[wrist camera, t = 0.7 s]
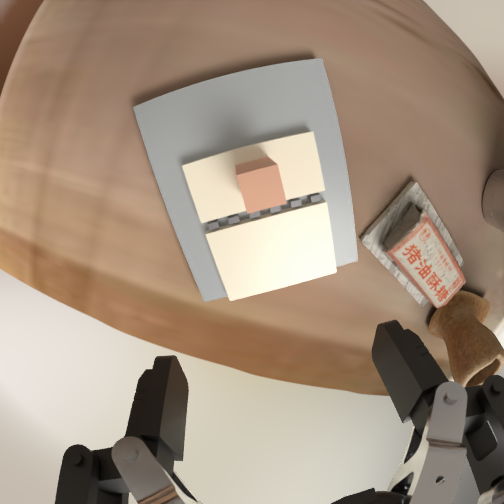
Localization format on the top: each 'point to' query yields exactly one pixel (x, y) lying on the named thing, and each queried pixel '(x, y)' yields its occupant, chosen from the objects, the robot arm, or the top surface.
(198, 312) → the top surface
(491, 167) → the top surface
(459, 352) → the brown hollow piece
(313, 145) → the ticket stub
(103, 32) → the top surface
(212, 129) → the board
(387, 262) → the packaged product
